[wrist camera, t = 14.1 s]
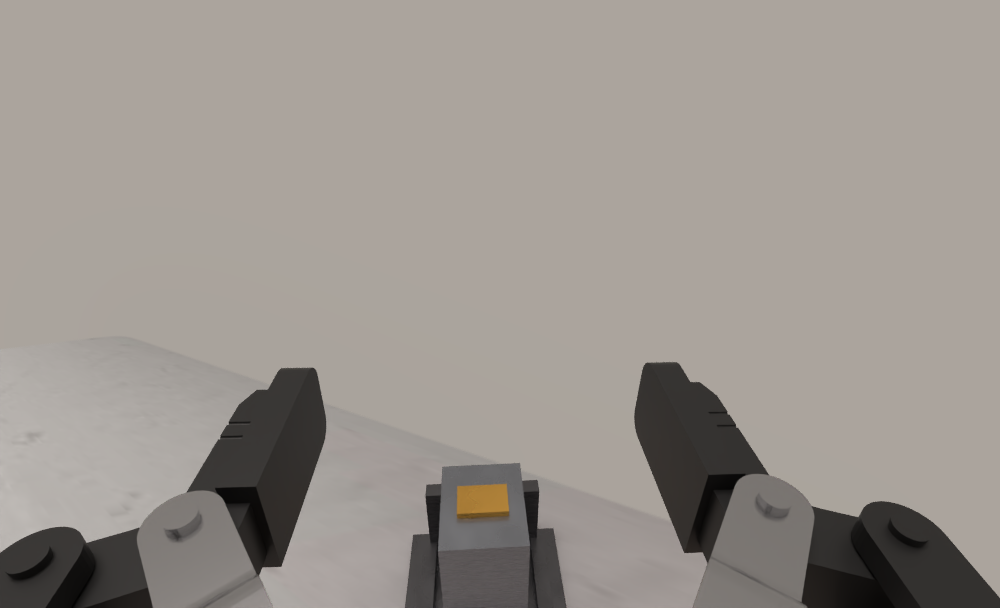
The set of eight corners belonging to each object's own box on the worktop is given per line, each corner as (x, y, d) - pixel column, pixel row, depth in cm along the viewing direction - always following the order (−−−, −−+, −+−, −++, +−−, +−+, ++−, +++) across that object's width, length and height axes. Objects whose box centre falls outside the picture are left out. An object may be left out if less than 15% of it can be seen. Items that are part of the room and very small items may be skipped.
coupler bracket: (578, 690, 31) (587, 629, 28) (395, 702, 30) (383, 640, 27) (552, 532, 40) (556, 473, 37) (413, 539, 40) (406, 480, 37)
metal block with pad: (526, 647, 32) (530, 541, 27) (447, 652, 32) (437, 546, 27) (517, 561, 38) (519, 458, 33) (450, 564, 37) (442, 462, 32)
